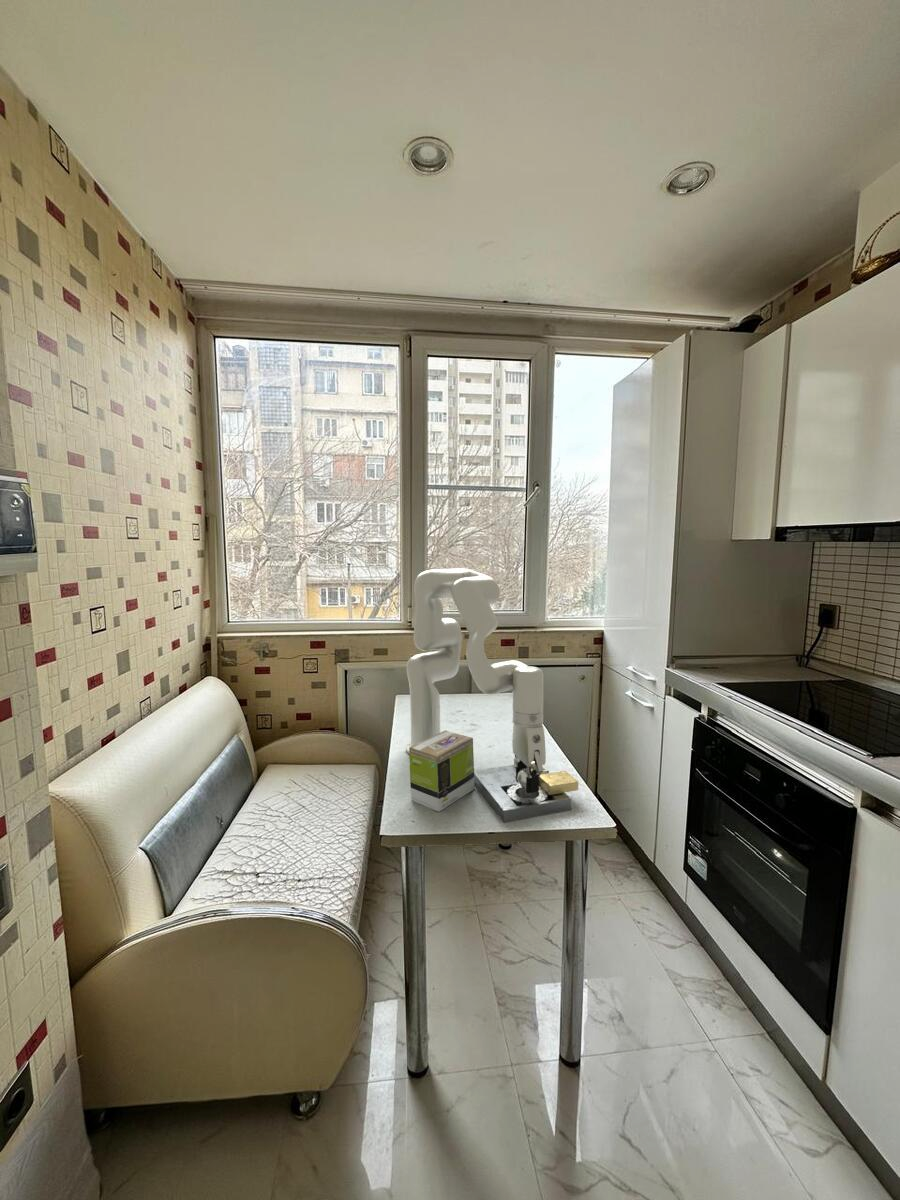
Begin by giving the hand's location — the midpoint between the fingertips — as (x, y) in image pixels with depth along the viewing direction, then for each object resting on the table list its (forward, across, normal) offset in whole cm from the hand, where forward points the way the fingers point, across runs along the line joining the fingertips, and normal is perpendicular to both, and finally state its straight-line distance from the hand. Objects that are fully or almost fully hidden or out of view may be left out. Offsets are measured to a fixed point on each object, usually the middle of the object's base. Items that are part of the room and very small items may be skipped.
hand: (527, 785), depth 125 cm
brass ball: (0, +8, -6) cm, 10 cm away
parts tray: (+2, +10, -6) cm, 12 cm away
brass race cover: (+2, 0, -9) cm, 9 cm away
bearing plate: (+5, +5, 0) cm, 7 cm away
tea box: (+5, +11, +19) cm, 23 cm away
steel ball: (-2, 0, 0) cm, 2 cm away
